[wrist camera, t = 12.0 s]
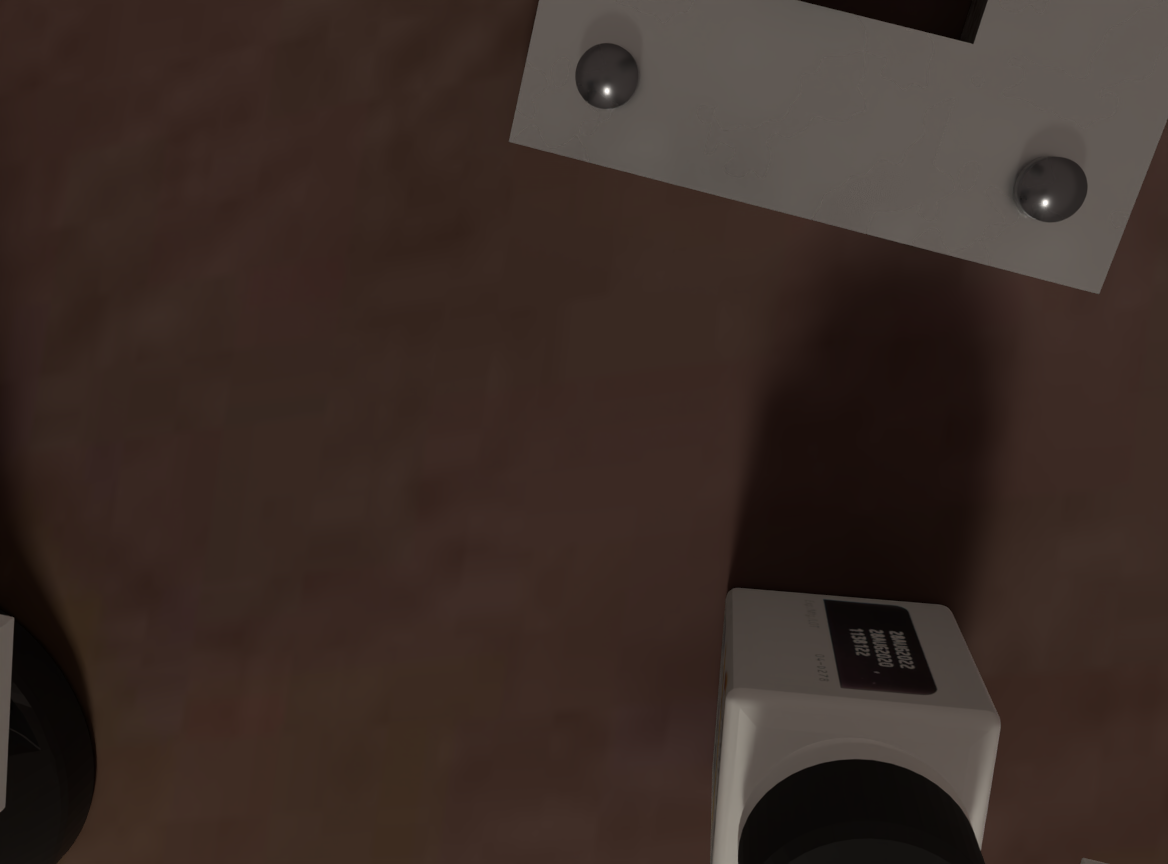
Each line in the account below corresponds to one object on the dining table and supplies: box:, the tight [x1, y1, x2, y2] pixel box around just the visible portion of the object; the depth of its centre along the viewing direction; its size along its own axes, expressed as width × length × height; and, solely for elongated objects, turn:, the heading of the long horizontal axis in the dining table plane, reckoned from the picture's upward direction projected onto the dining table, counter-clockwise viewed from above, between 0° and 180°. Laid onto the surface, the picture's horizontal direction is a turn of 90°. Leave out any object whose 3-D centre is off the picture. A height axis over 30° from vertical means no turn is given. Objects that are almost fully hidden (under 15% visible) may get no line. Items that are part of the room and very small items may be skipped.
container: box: [710, 588, 1001, 864], centre depth 33 cm, size 8×8×13 cm
